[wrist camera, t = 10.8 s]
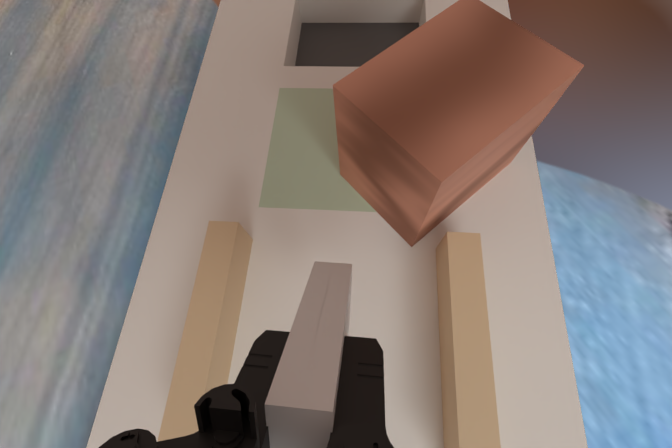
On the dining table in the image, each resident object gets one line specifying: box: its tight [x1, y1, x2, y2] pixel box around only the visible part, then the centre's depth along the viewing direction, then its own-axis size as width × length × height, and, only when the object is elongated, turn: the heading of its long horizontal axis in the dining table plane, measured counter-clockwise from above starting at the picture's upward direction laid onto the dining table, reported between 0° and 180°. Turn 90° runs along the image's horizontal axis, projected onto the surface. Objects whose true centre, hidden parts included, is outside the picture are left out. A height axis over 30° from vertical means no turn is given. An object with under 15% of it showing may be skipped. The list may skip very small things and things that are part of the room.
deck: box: [86, 0, 588, 448], centre depth 20 cm, size 22×44×6 cm, turn 176°
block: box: [333, 0, 584, 247], centre depth 17 cm, size 6×8×7 cm
